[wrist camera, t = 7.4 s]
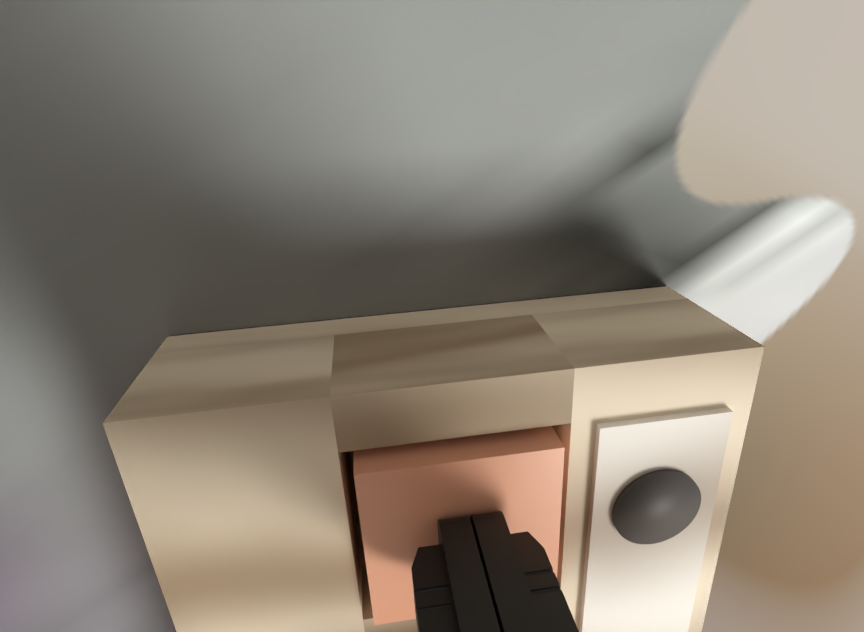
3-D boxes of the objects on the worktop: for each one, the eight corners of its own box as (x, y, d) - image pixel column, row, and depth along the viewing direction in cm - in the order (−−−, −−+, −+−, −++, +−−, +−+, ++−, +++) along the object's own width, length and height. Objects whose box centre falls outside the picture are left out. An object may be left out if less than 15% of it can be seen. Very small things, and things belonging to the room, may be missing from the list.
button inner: (353, 399, 14) (353, 475, 11) (524, 379, 14) (564, 447, 12) (370, 532, 16) (374, 625, 13) (521, 510, 16) (555, 595, 13)
